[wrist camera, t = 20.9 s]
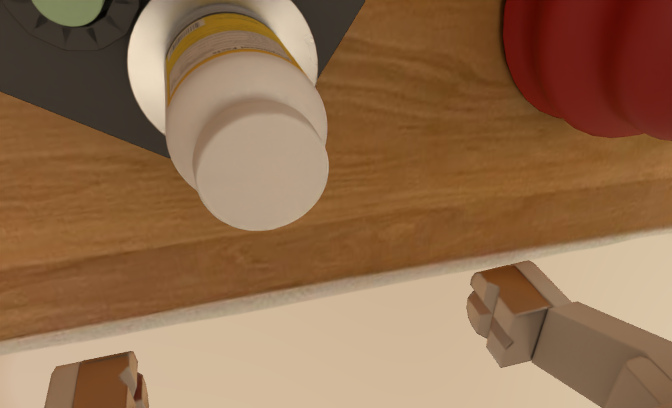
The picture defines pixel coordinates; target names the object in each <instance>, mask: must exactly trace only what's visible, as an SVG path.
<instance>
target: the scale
mask: <svg viewBox="0 0 672 408" xmlns="http://www.w3.org/2000/svg"><path fill="white" fill-rule="evenodd" d="M147 1H148V0H105V1H104V4H103V6H102V9H101V11H100V13H99V14H98V16H97V17H96V18H95V19H94V20H93V21H91V22H90V23H88V24H86V25H83V26H77V27H70V26H64V25H60V24H58V23H55V22H53V21H51V20H49V19H48V18H47V17H45V16H44V15H43V14H42V13H41V12H40V11H39V10H38V9H37V8H36V7H35V5H34V4H33V2H32V0H0V91H1V92H3V93H6V94H8V95H11V96H13V97H16V98H18V99H21V100H23V101H26V102H28V103H31V104H33V105H36V106H39V107H41V108H44V109H46V110H49V111H51V112H54V113H56V114H59V115H61V116H64V117H66V118H69V119H71V120H74V121H76V122H79V123H81V124H84V125H87V126H89V127H92V128H94V129H97V130H99V131H102V132H104V133H107V134H109V135H112V136H114V137H117V138H119V139H122V140H124V141H127V142H129V143H132V144H135V145H137V146H140V147H142V148H145V149H147V150H150V151H152V152H155V153H157V154H160V155H162V156H165V157H167V158H170V159H171V157H170V154H169V151H168V147H167V142H166V136H165V135H163V134H162V133H161V132H160V131H159V130H157V129H156V128H155V127H154V126H153V124H152V123H151V122H150V121H149V120H148V119H147V118H146V116H145V115H144V113H143V112H142V111H141V109H140V107H139V105H138V104H137V102H136V100H135V98H134V95H133V92H132V90H131V87H130V83H129V79H128V74H127V62H126V61H127V47H128V42H129V37H130V33H131V30H132V27H133V25H134V22H135V20H136V18H137V16H138V14H139V13H140V11H141V9H142V8H143V7H144V5H145V4H146V3H147ZM291 1H292V2H294V4H295V5H296V6H297V7H298V9H299V10H300V11H301V13H302V14H303V16H304V17H305V19H306V21H307V22H308V24H309V27H310V29H311V31H312V34H313V36H314V40H315V44H316V48H317V55H318V76H317V79H318V77H319V76H320V74H321V72H322V71H323V69H324V68H325V66H326V64H327V63H328V61H329V59H330V58H331V56H332V55H333V53H334V51H335V50H336V48H337V46H338V45H339V43H340V41H341V40H342V38H343V37H344V35H345V33H346V32H347V30H348V28H349V27H350V25H351V24H352V22H353V20H354V19H355V17H356V15H357V14H358V12H359V10H360V9H361V7H362V6H363V4H364V2H365V0H291Z"/></svg>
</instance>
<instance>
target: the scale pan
mask: <svg viewBox="0 0 672 408" xmlns="http://www.w3.org/2000/svg"><path fill="white" fill-rule="evenodd" d="M217 11H233V12H239V13H243V14H246V15H249V16H251V17H254V18H256V19H257V20H259V21H261V22H262V23H264V24H265V25H266V26H268V27H269V28H270V29H271V30H272V31H273V32H274V33H275V34H276V35H277V36H278V38H279V39H280V41H281V42H282V43H283V45H284V46H285V47H286V49H287V50H288V51H289V52H290V54H291V55H292V56H293V58H294V59H295V60H296V62H297V63H298V64H299V66H300V67H301V68H302V70H303V71H304V72H305V74H306V75H307V76H308V78H309V79H310V81H311V82H312V83H313V85H314V86H315V87H316V83H317V76H318V55H317V48H316V44H315V40H314V36H313V34H312V31H311V29H310V27H309V24H308V22H307V21H306V19H305V17H304V16H303V14H302V13H301V11H300V10H299V9H298V7H297V6H296V5H295V4H294V2H292V1H291V0H148V1H147V3H146V4H145V5H144V7H143V8H142V9H141V11H140V13H139V14H138V16H137V18H136V20H135V22H134V25H133V27H132V30H131V33H130V37H129V42H128V47H127V61H126V62H127V74H128V79H129V83H130V87H131V90H132V92H133V95H134V98H135V100H136V102H137V104H138V105H139V107H140V109H141V111H142V112H143V113H144V115H145V116H146V118H147V119H148V120H149V121H150V122H151V123H152V124H153V126H154V127H155V128H156V129H157V130H159V131H160V132H161V133H162V134H163V135H165V136H166V133H165V82H164V64H165V58H166V54H167V51H168V49H169V46H170V44H171V42H172V40H173V39H174V38H175V36H176V35H177V34H178V32H179V31H180V30H181V29H182V28H183V27H184V26H186V25H187V24H188V23H189V22H191V21H192V20H194V19H195V18H198V17H200V16H202V15H205V14H208V13H212V12H217Z"/></svg>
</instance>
